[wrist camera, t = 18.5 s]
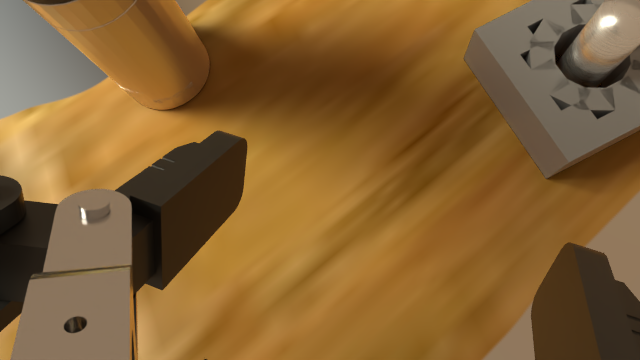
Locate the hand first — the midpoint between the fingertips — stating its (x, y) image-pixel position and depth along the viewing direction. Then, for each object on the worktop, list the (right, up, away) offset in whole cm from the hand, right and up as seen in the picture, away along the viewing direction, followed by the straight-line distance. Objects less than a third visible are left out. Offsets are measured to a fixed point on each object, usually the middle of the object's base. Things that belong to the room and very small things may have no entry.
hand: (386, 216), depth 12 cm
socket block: (+22, +10, +32) cm, 40 cm away
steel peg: (+22, +10, +32) cm, 40 cm away
